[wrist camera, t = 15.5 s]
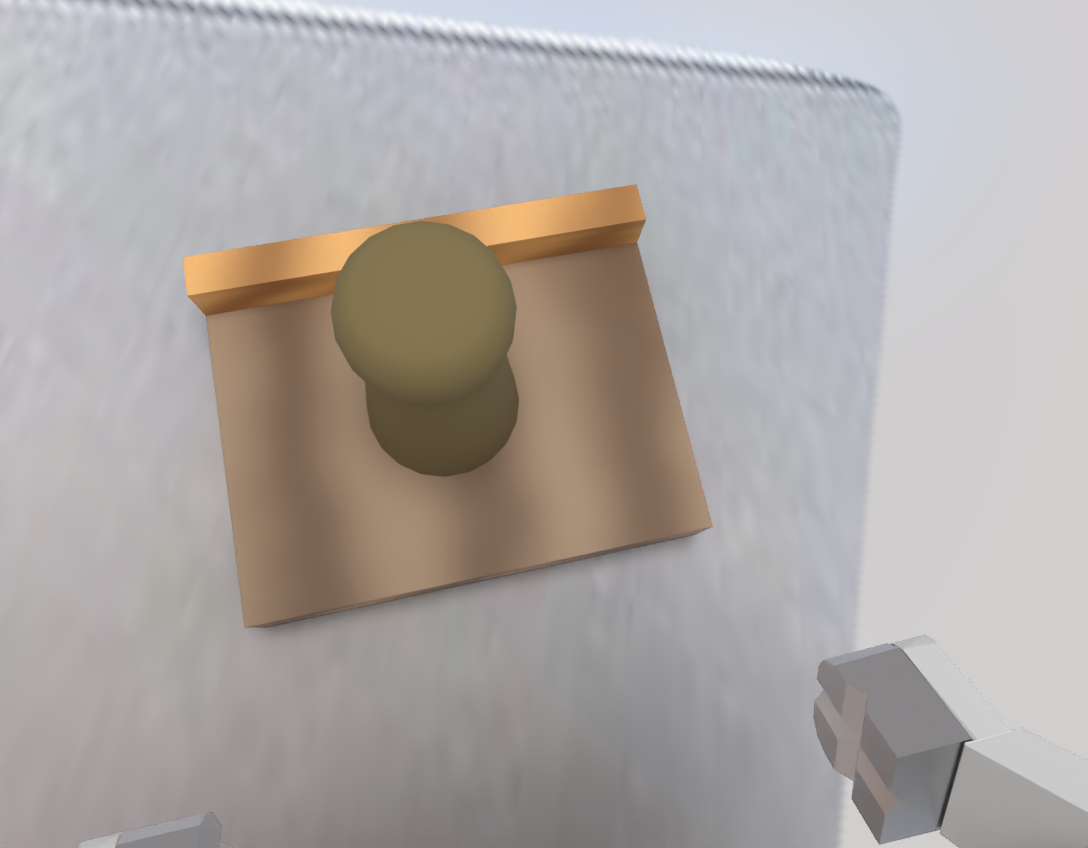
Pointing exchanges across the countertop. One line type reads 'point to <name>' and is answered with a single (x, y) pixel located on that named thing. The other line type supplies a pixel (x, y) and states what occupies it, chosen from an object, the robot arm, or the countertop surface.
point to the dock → (464, 499)
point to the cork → (430, 344)
